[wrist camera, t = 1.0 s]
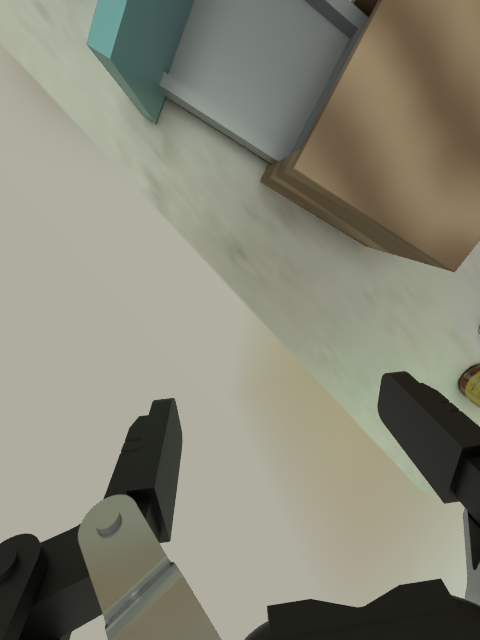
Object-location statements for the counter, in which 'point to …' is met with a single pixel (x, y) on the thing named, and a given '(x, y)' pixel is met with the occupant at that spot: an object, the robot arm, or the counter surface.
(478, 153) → the cabinet
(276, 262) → the counter surface
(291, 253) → the counter surface
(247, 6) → the drawer
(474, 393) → the sauce bottle
